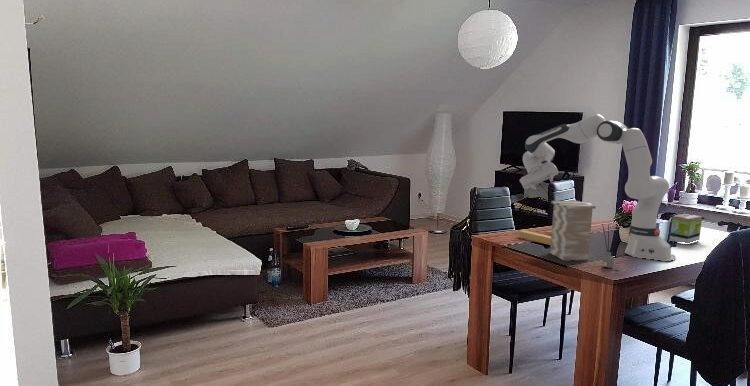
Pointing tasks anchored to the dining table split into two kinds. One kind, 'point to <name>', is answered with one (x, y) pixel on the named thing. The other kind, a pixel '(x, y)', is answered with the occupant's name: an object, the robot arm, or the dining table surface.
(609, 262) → the reed diffuser
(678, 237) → the tea box
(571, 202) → the birch pedestal
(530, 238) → the ochre bar
